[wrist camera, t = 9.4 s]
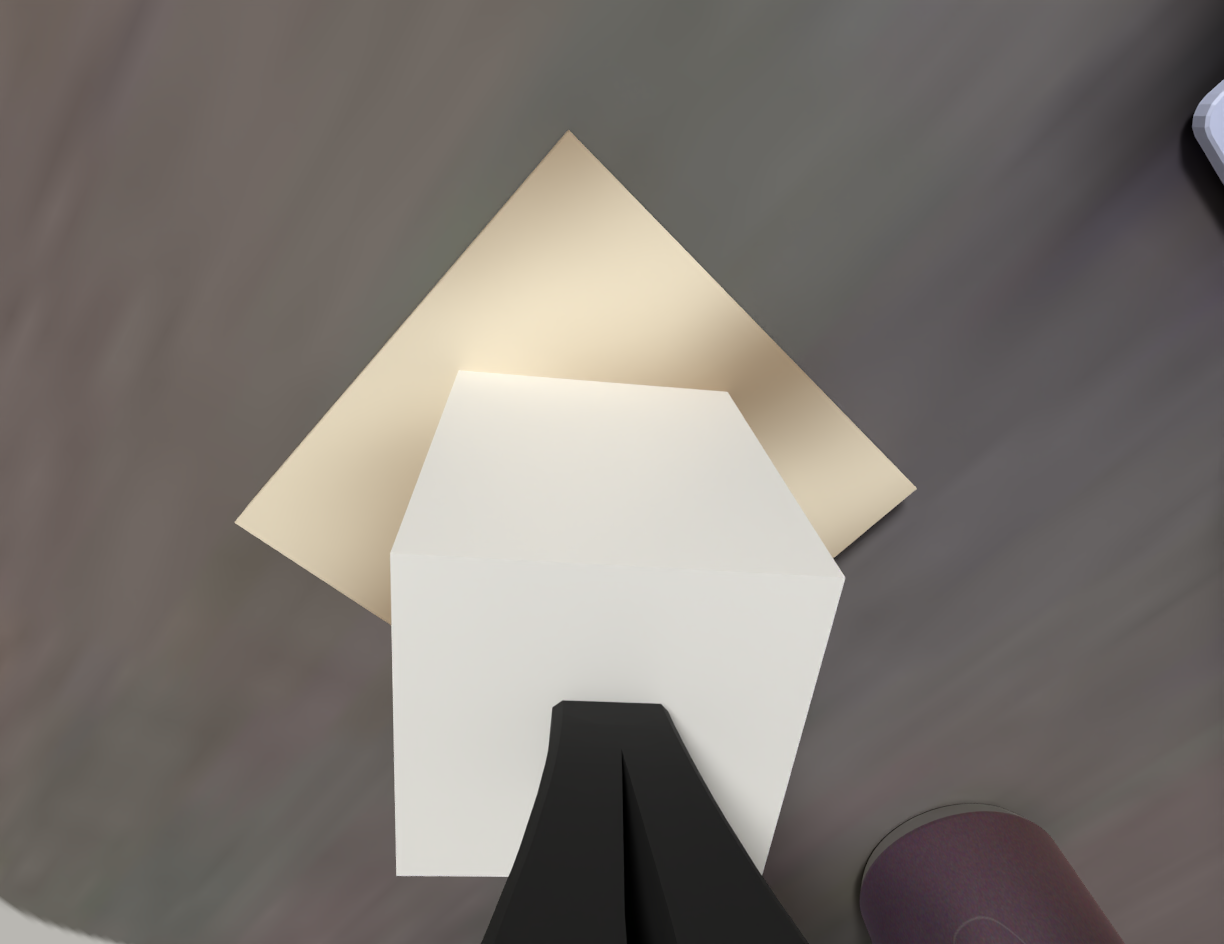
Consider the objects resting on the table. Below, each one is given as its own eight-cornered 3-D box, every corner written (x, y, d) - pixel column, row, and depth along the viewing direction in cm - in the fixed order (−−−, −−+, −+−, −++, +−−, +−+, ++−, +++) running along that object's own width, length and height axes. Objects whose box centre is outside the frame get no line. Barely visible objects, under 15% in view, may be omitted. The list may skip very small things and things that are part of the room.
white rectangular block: (727, 391, 15) (845, 577, 9) (688, 610, 17) (761, 878, 11) (458, 370, 14) (390, 553, 8) (453, 599, 16) (396, 876, 10)
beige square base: (897, 468, 17) (1059, 634, 11) (592, 728, 20) (607, 962, 14) (568, 129, 13) (578, 139, 8) (252, 500, 16) (99, 693, 11)
